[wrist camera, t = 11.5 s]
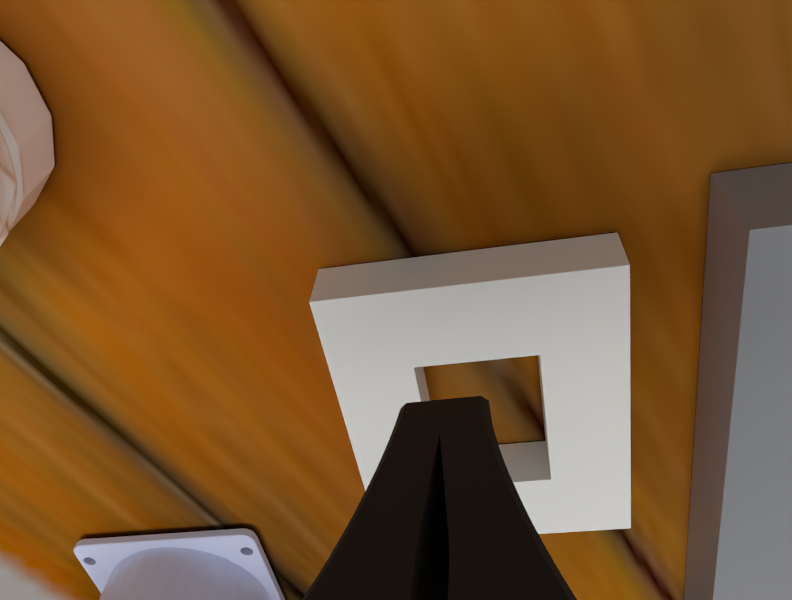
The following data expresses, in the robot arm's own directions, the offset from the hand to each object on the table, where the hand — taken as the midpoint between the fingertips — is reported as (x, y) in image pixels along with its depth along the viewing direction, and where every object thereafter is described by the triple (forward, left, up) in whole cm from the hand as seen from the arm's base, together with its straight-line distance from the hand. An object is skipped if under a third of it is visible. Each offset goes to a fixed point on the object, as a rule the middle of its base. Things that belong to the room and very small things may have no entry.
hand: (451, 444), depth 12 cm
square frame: (-8, 0, -10) cm, 13 cm away
